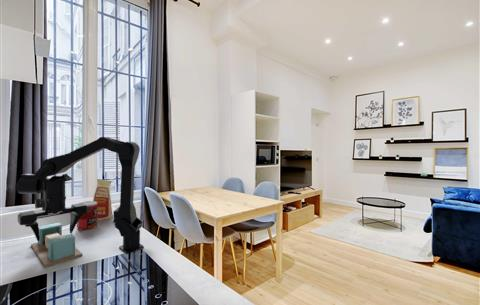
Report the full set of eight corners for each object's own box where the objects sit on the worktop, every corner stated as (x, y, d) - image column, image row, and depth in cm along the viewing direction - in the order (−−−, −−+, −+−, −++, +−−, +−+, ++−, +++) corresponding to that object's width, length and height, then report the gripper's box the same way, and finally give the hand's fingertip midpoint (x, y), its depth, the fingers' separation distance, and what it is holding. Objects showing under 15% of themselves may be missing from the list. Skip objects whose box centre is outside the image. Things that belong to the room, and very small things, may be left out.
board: (82, 255, 79) (82, 253, 79) (44, 267, 71) (44, 265, 71) (64, 237, 92) (64, 235, 92) (31, 246, 84) (31, 243, 84)
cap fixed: (61, 240, 88) (61, 224, 88) (40, 245, 83) (39, 229, 83) (59, 237, 90) (59, 222, 90) (37, 242, 85) (37, 226, 85)
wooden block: (66, 251, 80) (66, 239, 80) (54, 254, 77) (54, 243, 77) (57, 242, 86) (57, 232, 86) (45, 246, 83) (45, 235, 83)
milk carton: (91, 220, 112) (91, 180, 111) (93, 215, 120) (93, 177, 119) (112, 218, 116) (112, 179, 115) (113, 213, 124) (113, 176, 123)
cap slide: (75, 254, 78) (75, 235, 78) (51, 261, 73) (51, 241, 73) (71, 250, 80) (71, 232, 80) (48, 257, 75) (48, 238, 75)
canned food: (90, 230, 100) (90, 205, 100) (72, 229, 100) (72, 205, 100) (101, 224, 108) (101, 201, 107) (84, 223, 108) (84, 200, 107)
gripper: (78, 186, 93) (78, 224, 94) (14, 193, 78) (15, 238, 79) (88, 191, 86) (88, 231, 87) (20, 199, 71) (20, 248, 72)
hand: (55, 236), depth 81 cm, fingers open, 9 cm apart
